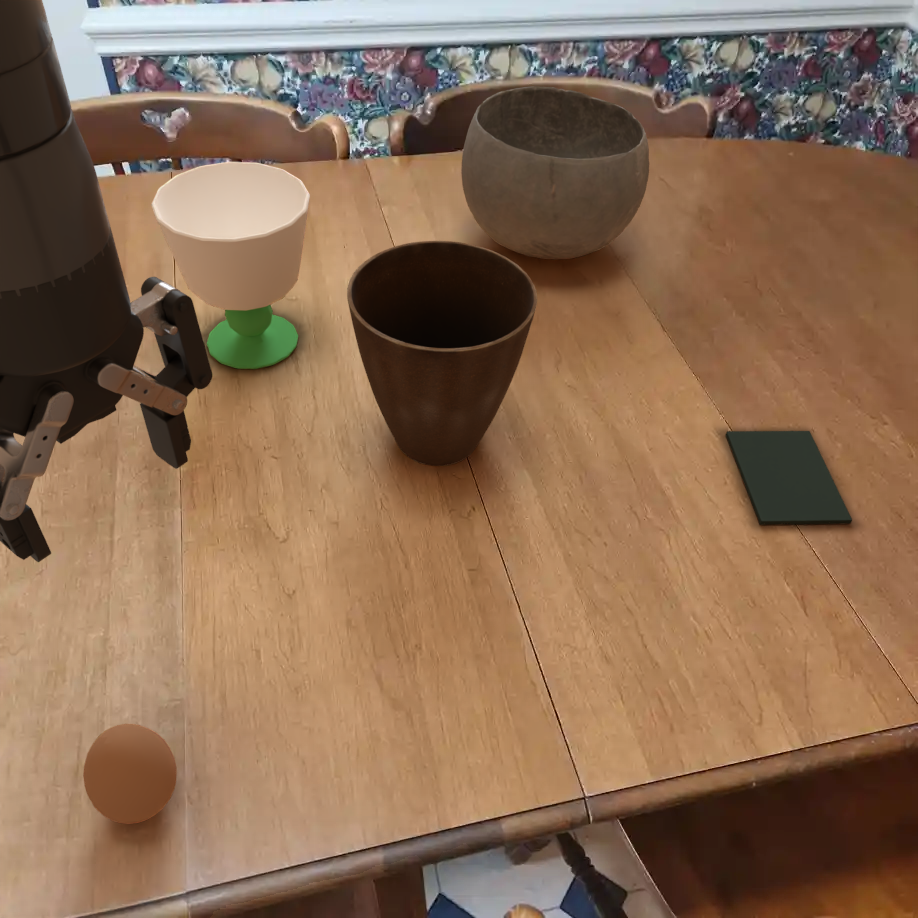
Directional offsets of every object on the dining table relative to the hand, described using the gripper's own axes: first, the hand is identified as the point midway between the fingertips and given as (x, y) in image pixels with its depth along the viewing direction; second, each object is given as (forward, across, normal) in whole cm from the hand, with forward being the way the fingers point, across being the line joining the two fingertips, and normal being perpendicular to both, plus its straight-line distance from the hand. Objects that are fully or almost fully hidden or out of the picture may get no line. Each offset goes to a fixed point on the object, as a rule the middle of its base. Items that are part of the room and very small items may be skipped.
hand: (106, 502), depth 47 cm
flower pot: (+21, +32, +3) cm, 38 cm away
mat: (+20, +48, -24) cm, 58 cm away
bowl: (+20, +66, +14) cm, 71 cm away
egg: (+21, -6, -4) cm, 22 cm away
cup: (+20, +30, +26) cm, 45 cm away
